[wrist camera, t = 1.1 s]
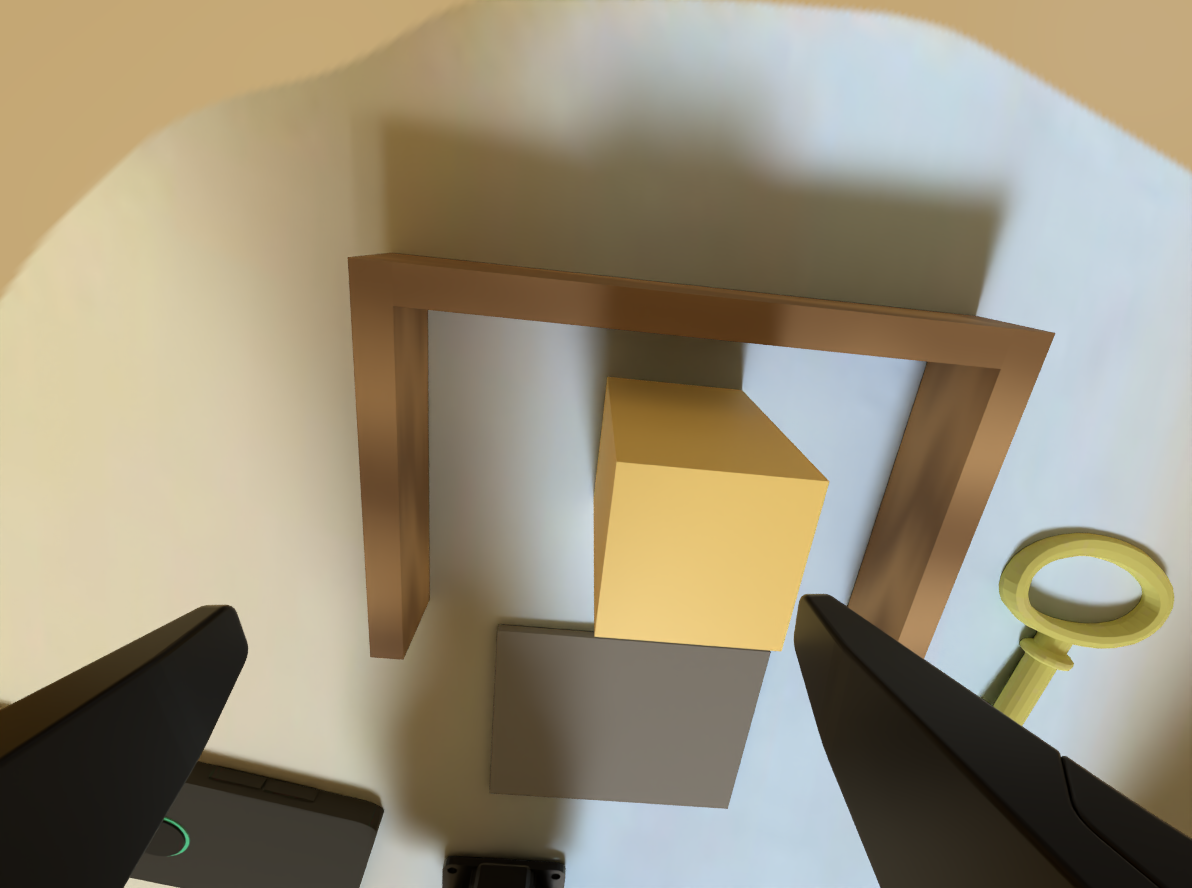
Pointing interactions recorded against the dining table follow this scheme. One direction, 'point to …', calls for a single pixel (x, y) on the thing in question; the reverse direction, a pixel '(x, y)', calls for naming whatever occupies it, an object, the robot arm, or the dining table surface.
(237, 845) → the smart home device
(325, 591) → the dining table surface
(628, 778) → the gray panel
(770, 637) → the mustard block
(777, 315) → the wooden u-shaped frame
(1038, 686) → the key
